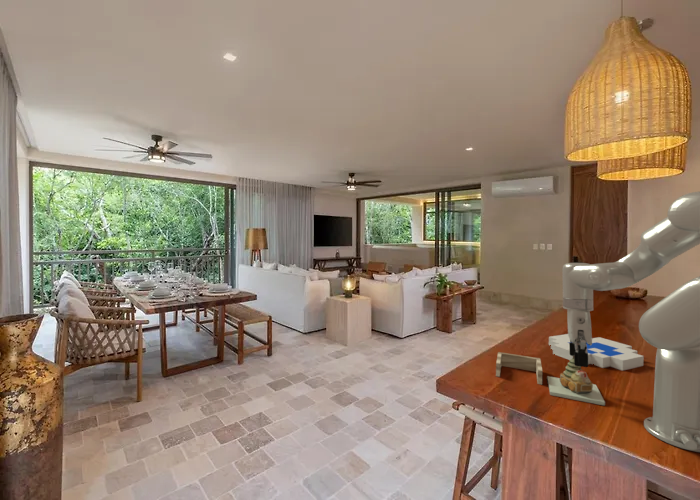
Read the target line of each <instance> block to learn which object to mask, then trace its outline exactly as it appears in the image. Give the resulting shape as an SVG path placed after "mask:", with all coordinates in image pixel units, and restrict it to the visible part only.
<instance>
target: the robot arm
mask: <svg viewBox="0 0 700 500" xmlns="http://www.w3.org/2000/svg"><path fill="white" fill-rule="evenodd" d="M698 245H700V191H693V192H687V193H685V194H684V195H682V196H679V197H677V198H676V199H675V200H673V202H672V203H671V204H670V205H669V207H668V209H667V216H666V217H664V218H663V219H661V220H660V221H658V222H656V224H654V225H652V226H651V227H649V228H647V229H646V230H644V231H643V232H642V233H641V234H640V243H639V245H638V246H637V247H636V248H635V249H634V250H633V251H631V252H630V253H627V255H625V256H624V257H621V258H620V259H619V260H617V261H614V262H603V263H593V264H590V263H588V262H587V263H586V262H568V263H567V262H566V263H565V264H563V265H562V269H561V272H562V276H561V277H562V308H563V309H564V310H566V311H567V313H566V314H567V319H566V320H567V322H566V323H567V334H568V336H569V338H570V342H572V343H570V342H569V345H570V355H571V356H574V364H575V366H581V368H588V367H589V364H588V351H587V344H589V345H592V338H593V335H592V331H593V330H592V319H591V313H590V312H592V311H594V291H597V292H598V291H600V292H603V291H605V292H606V291H612V290H622V289H625V288H628V287H631V286H634V285H635V284H637V283H639V282H641V281H642V280H644V279H646V278H648V277H650V276H651V275H653V274H655V273H657V272H658V271H659V270H661V269H662V268H663V267H665V266H666V265H668V264H669V263H670V262H671V261H673V259H675V258H678V257H679V256H681V255H682V254H684V253H686V252H687V251H689V250H692V249H693V248H695V247H697V246H698ZM638 331H639V333H640V335H641V338H643V340H644V341H645V342H647V344H649V345H651V346H653V347H654V348H657V349H656V353H655V355H656V356H655V366H654V367H655V368H654V385H653V387H654V388H653V402H652V403H653V404H652V405H653V406H652V407H653V408H652V416H649V417H646V418H645V419H644V420H643V427H644V429H646V431H647V432H648V433H649V434H651V435H652V436H654V437H655V438H657V439H659V440H660V441H663V442H665V443H667V444H668V445H671V446H674V447H677V448H680V449H682V450H687V451H691V452H694V453H695V452H696V453H700V275H699V276H696V277H695V278H692V279H691V280H689V281H687V282H685V283H683V284H682V285H680V286H679V287H678V288H676V289H675V290H673V291H672V292H671V293H669V294H668V295H667V296H665V297H663V298H662V299H661V300H659V301H658V302H657V303H656V304H654V305H653V306H651V307H649V308H648V310H646V311H645V312H644V313H643V314H642V315H641V316H640V319H639V321H638ZM586 342H587V343H586Z"/></svg>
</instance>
